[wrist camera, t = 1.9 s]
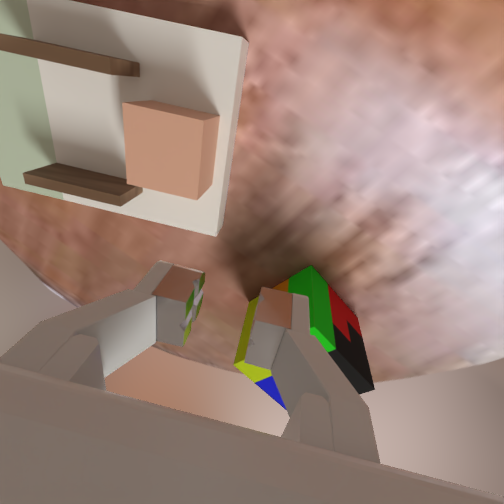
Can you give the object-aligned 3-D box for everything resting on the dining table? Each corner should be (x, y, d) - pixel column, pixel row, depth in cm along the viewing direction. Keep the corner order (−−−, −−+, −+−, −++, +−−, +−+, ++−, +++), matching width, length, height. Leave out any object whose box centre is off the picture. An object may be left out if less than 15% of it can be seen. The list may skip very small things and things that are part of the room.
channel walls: (33, 39, 22) (-15, 30, 19) (139, 62, 22) (109, 57, 19) (58, 172, 28) (25, 183, 25) (142, 192, 28) (120, 206, 24)
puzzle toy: (294, 346, 40) (292, 415, 31) (249, 301, 37) (233, 364, 29) (357, 317, 36) (374, 389, 27) (311, 264, 33) (314, 326, 24)
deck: (-98, -31, 24) (-145, -46, 21) (249, 42, 23) (242, 36, 20) (-29, 164, 33) (-57, 170, 30) (222, 224, 32) (215, 236, 29)
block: (151, 100, 23) (122, 102, 20) (220, 115, 23) (203, 120, 19) (152, 170, 27) (126, 183, 23) (212, 184, 26) (197, 200, 22)
